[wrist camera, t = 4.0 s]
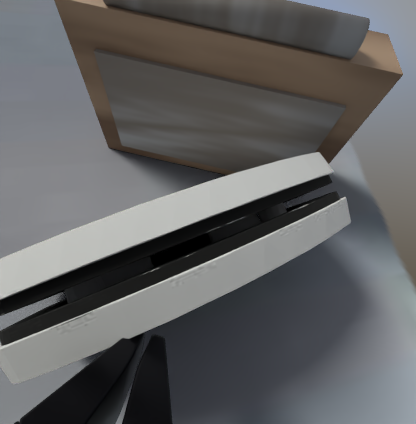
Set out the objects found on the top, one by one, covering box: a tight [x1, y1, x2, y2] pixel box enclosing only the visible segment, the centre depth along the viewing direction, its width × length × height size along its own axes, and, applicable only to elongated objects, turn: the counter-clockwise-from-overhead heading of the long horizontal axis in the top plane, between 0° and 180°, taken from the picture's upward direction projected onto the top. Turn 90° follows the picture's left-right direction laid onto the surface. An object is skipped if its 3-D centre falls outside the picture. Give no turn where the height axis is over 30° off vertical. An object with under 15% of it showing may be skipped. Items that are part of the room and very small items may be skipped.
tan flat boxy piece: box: [54, 0, 403, 175], centre depth 16 cm, size 4×17×11 cm, turn 78°
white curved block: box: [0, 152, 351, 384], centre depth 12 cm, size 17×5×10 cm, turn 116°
